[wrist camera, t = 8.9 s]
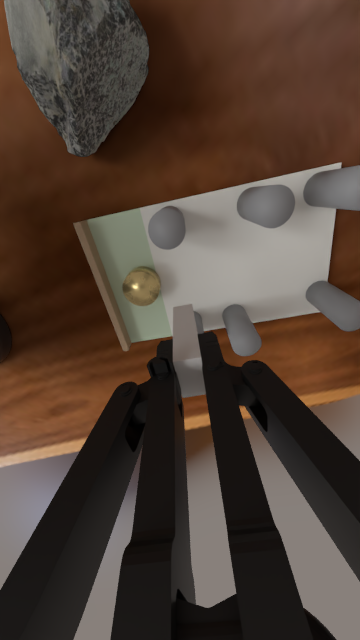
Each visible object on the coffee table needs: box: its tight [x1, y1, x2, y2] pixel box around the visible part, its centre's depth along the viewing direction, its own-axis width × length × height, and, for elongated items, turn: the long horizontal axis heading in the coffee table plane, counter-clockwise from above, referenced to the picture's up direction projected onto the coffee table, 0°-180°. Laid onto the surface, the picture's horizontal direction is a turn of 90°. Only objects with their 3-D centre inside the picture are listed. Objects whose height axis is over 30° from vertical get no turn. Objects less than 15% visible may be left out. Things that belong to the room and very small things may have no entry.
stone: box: [4, 0, 149, 157], centre depth 18 cm, size 10×10×10 cm
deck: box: [73, 162, 360, 356], centre depth 26 cm, size 29×17×8 cm, turn 101°
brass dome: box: [122, 266, 161, 306], centre depth 28 cm, size 4×4×2 cm
